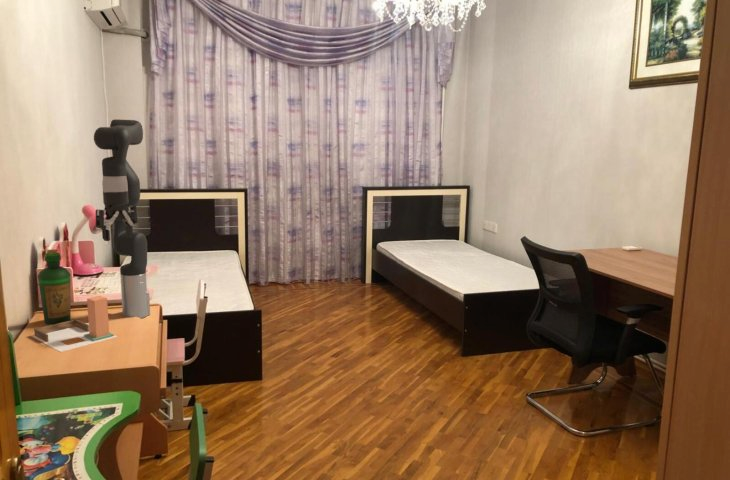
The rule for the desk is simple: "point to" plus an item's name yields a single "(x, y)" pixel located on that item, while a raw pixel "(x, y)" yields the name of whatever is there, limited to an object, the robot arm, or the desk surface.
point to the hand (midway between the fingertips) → (118, 238)
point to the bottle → (55, 290)
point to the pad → (98, 337)
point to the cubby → (59, 328)
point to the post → (98, 316)
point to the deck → (66, 334)
